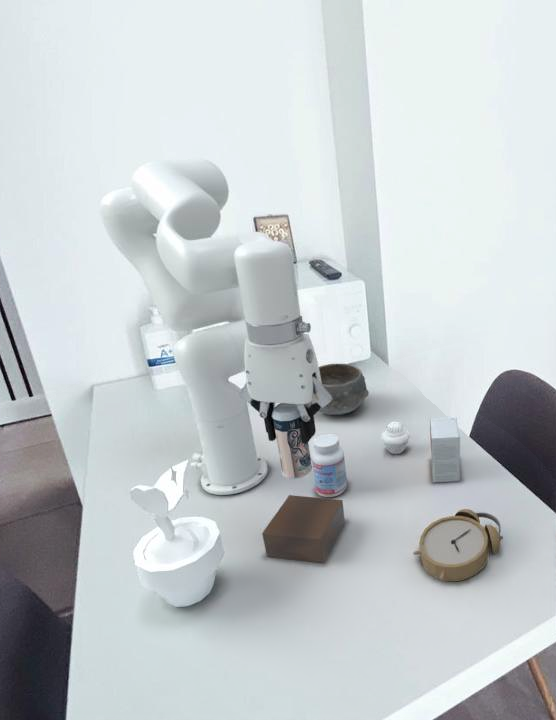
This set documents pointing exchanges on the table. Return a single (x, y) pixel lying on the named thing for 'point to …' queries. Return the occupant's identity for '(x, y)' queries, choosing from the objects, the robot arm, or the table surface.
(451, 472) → the small box
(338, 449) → the pill bottle
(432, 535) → the alarm clock
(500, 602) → the table surface
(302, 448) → the beer can
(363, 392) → the bowl
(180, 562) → the potted plant
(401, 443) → the muffin
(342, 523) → the block
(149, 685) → the table surface
